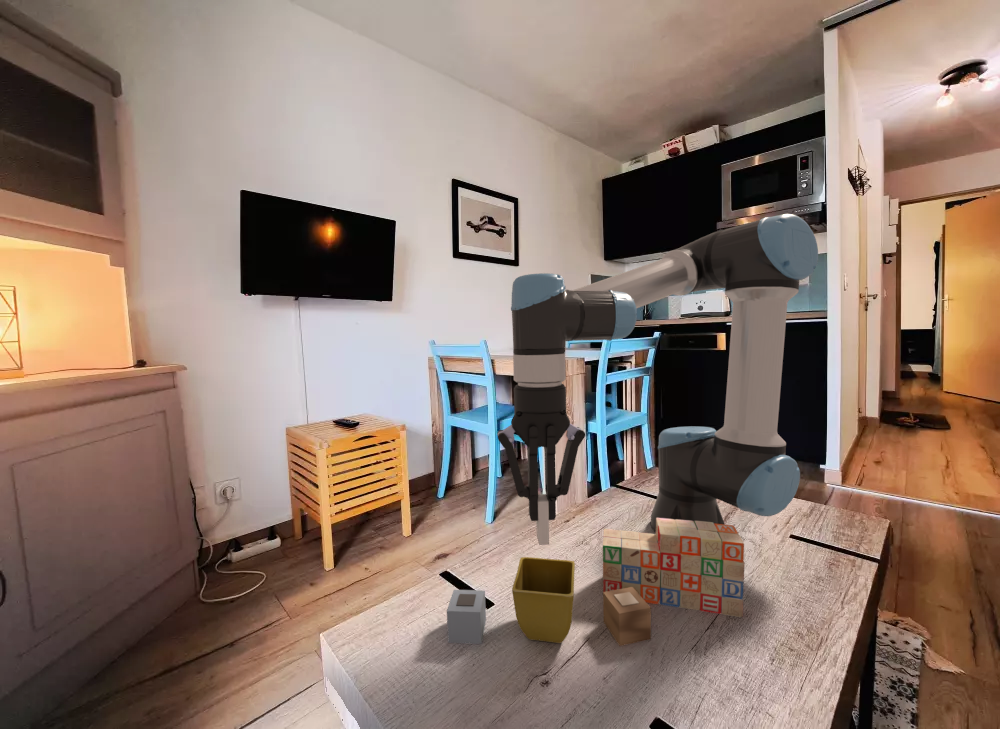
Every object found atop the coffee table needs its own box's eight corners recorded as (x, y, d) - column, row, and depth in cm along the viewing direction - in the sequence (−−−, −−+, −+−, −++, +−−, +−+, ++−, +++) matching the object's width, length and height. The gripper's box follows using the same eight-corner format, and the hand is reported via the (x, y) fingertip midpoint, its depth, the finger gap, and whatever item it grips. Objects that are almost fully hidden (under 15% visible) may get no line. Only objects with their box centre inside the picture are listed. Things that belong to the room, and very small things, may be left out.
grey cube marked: (486, 620, 65) (484, 589, 64) (481, 644, 60) (480, 611, 60) (455, 619, 65) (453, 588, 65) (448, 643, 60) (446, 610, 60)
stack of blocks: (602, 597, 70) (601, 527, 69) (604, 576, 76) (603, 511, 75) (744, 618, 64) (745, 542, 63) (733, 593, 69) (734, 523, 69)
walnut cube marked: (632, 616, 65) (632, 585, 64) (650, 640, 60) (650, 606, 59) (603, 622, 64) (603, 591, 63) (619, 646, 59) (619, 612, 58)
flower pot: (575, 657, 57) (573, 595, 56) (513, 649, 59) (511, 589, 58) (576, 614, 66) (575, 560, 65) (522, 608, 67) (520, 556, 67)
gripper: (578, 379, 63) (580, 526, 65) (494, 381, 63) (498, 530, 64) (590, 385, 56) (592, 551, 57) (495, 388, 55) (500, 555, 57)
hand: (542, 540), depth 61 cm, fingers closed
